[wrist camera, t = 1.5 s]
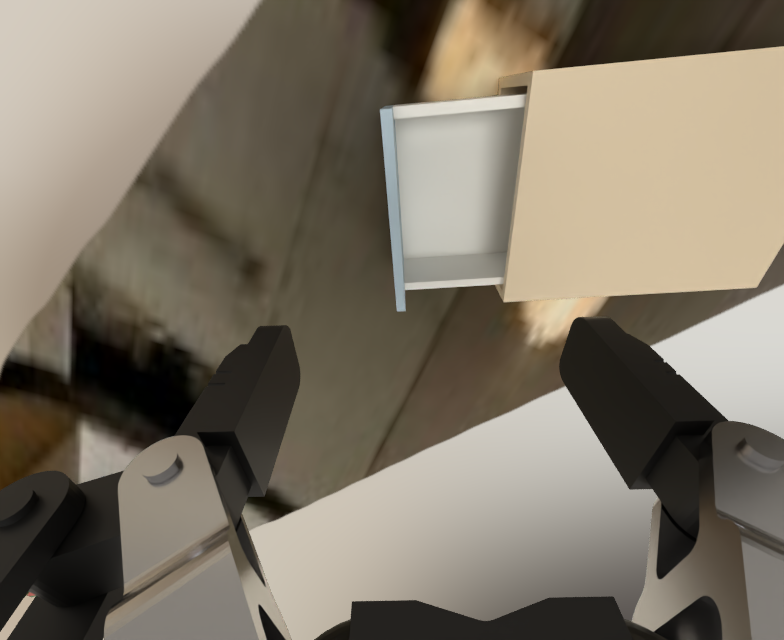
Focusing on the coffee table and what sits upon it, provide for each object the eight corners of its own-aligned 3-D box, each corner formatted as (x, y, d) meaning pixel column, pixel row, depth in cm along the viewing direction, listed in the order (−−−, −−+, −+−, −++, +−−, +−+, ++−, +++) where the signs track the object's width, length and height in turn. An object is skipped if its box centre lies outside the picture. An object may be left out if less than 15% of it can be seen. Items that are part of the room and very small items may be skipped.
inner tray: (763, 70, 22) (927, 58, 15) (686, 244, 28) (775, 289, 22) (385, 105, 23) (379, 109, 16) (397, 263, 30) (396, 311, 23)
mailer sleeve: (775, 50, 22) (911, 33, 16) (686, 250, 30) (756, 287, 24) (499, 77, 23) (533, 70, 17) (483, 263, 31) (503, 302, 25)
